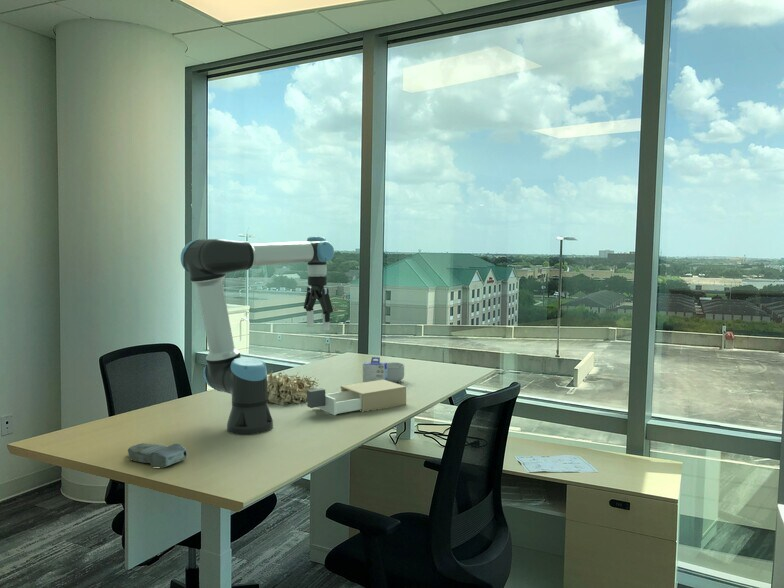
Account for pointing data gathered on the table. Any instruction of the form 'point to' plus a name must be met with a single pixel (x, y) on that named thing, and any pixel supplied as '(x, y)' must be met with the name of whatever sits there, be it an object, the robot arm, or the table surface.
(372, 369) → the ink cartridge box
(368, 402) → the sleeve
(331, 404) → the tray
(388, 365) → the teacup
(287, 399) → the dried lichen
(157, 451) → the handheld device
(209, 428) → the table surface
